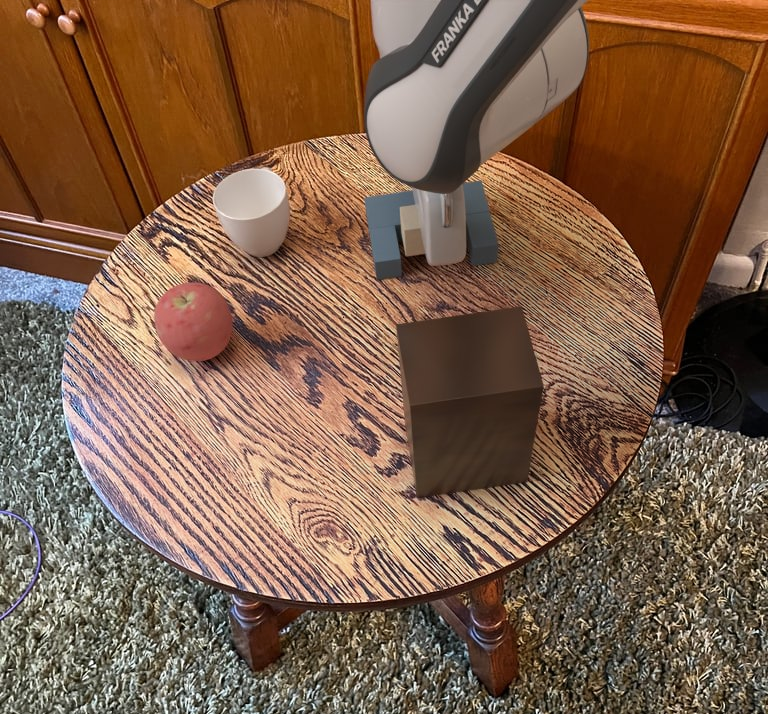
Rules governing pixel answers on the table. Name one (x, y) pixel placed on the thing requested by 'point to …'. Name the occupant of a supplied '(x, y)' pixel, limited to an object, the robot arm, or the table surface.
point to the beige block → (411, 231)
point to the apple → (193, 321)
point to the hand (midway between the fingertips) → (432, 234)
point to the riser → (469, 400)
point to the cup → (253, 210)
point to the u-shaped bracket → (388, 234)
